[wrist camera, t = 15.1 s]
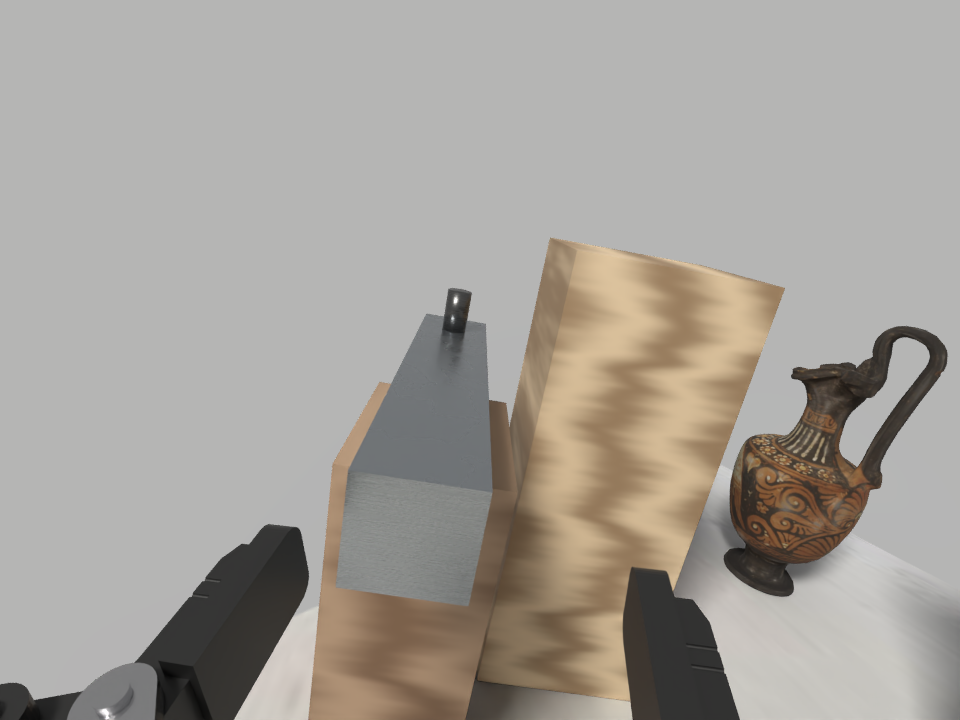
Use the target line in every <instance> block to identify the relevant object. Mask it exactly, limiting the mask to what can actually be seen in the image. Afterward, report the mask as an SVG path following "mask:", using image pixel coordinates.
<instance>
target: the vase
mask: <svg viewBox="0 0 960 720" xmlns="http://www.w3.org/2000/svg"><path fill="white" fill-rule="evenodd" d="M902 337H908V338H912V339H915V340H917V341H919V342H921V343H923V344H924V345H926V347H927V349H928V350H929V353H930V359H929V363H928V365H927V366H926V368H925V369H924V370H923V372H922V373H921V374H920V375H919V377H918V378H917V379H916V381H915V382H914V383H913V385H912V386H911V387H910V388H909V390H908V391H907V392H906V393H905V395H904V396H903V397H902V398H901V400H900V401H899V402H898V404H897V405H896V407H895V408H894V409H893V411H892V412H891V413H890V415H889V416H888V418H887V419H886V421H885V422H884V424H883V425H882V427H881V428H880V430H879V431H878V433H877V434H876V436H875V437H874V439H873V441H872V443H871V444H870V446H869V448H868V450H867V452H866V454H865V456H864V458H863V460H862V461H861V463H860V464H859V466H858V467H856V466H855V465H853V464H852V463H851V462H849V461H848V460H846V459H845V458H843V457H842V455H841V453H840V450H839V442H840V438H841V435H842V431H843V428H844V425H845V422H846V420H847V418H848V417H849V415H850V414H851V412H852V411H853V410H855V409H856V408H857V407H858V406H859V405H860V404H861V403H862V402H864V401H865V400H866V398H871V397H873V396H875V394H876V393H877V392H878V391H879V390H880V389H881V388H882V387H883V385H884V383H885V381H886V379H887V373H888V366H889V362H890V358H891V355H892V347H893V343H894V342H895V341H896V340H897V339H899V338H902ZM946 364H947V350H946V348H945V346H944V345H943V343H942V342H941V341H940V340H939V338H938V337H937V336H935V335H933V334H931V333H929V332H927V331H926V330H923V329H919V328H915V327H908V326H898V327H894V328H891V329H888V330H886V331H885V332H883V333H882V334H881V335H880V336H879V337H878V338H877V340H876V341H875V344H874V347H873V357H872V358H870V359H867V360H865V361H864V362H863V363H862V364H861V365H859V366H858V367H857V368H856V365H854V364H852V363H849V362H847V363H841V364H825V365H824V364H823V365H820V368H818V369H806V368H802V367H797V368H794V369H793V374H792V375H791V377H792V379H798V380H800V381H802V383H804V385H805V387H806V391H807V405H806V408H805V410H804V413H803V415H802V417H801V419H800V421H799V422H798V424H797V425H796V427H795V428H794V430H793V431H791V432H790V433H789V434H788V435H785V436H783V435H777V434H761V435H755V436H752V437H750V438H749V439H748V440H746V441H745V443H744V444H743V446H742V448H741V450H740V452H739V454H738V457H737V460H736V462H735V465H734V470H733V474H732V478H731V483H730V514H731V519H732V523H733V526H734V528H735V529H736V531H737V533H738V534H739V536H740V537H741V538H742V539H743V541H744V542H745V543H746V548H745V549H742V548H734V549H730V550H729V551H728V552H727V553H726V554H725V555H724V561H725V564H726V567H727V568H728V569H729V570H730V571H731V572H732V573H733V574H734V575H735V576H736V577H737V578H739V579H740V580H741V581H743V582H744V583H746V584H748V585H749V586H751V587H753V588H755V589H758V590H760V591H763V592H765V593H768V594H772V595H776V596H789V595H790V594H792V593H793V591H794V585H793V580H792V579H791V577H790V575H789V574H788V572H787V571H786V570H785V567H786V566H787V565H788V564H789V563H793V564H799V563H808V562H811V561H814V560H818V559H820V558H821V557H823V556H825V555H826V554H828V553H829V552H831V551H832V550H833V549H834V548H835V547H837V546H838V545H839V544H840V543H841V542H842V541H843V539H844V538H845V537H846V536H847V535H848V534H849V533H850V532H851V530H852V529H853V528H854V526H855V525H856V523H857V522H858V520H859V518H860V516H861V515H862V512H863V510H864V508H865V506H866V504H867V500H868V497H869V492H870V490H872V489H878V488H880V487H881V483H882V473H881V472H880V466H881V462H882V459H883V457H884V455H885V453H886V451H887V450H888V448H889V446H890V445H891V443H892V441H893V440H894V438H895V436H896V435H897V433H898V432H899V431H900V429H901V427H902V426H903V425H904V423H905V422H906V421H907V419H908V418H909V417H910V415H911V414H912V413H913V411H914V410H915V408H916V407H917V406H918V404H919V403H920V401H921V400H922V399H923V398H924V396H925V395H926V394H927V393H928V391H929V390H930V389H931V387H932V386H933V385H934V383H935V382H936V381H937V380H938V378H939V377H940V374H941V372H943V371H944V369H945V367H946Z"/></svg>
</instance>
